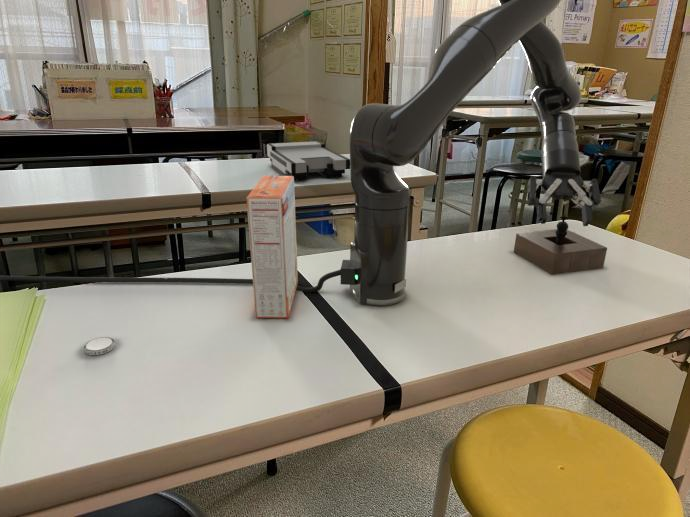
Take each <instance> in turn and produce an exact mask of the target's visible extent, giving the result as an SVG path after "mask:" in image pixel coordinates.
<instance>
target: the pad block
mask: <svg viewBox="0 0 690 517" xmlns="http://www.w3.org/2000/svg"><path fill="white" fill-rule="evenodd" d="M556 230H557V228H556V229H544V230H537V231H528V232H527V231H526V232H518V233H517V232H516V233H515V239H514V247H513V254H515V255H516V256H518V257H521V258H522V259H524V260H526V261H527V262H529V263H531V264H532V265H534V266H536V267H537V268H539V269H541V270H543V271H544V272H546V273H548V274H549V275H551V276H552V275H560V274H562V275H563V274H568V273H576V272H583V271H590V270H597V269H603V268H604V265H605V261H606V257H607V251H608V247H607V246H605V245H602V244H600V243H598V242H596V241H593V240H592V239H589V238H586V237H584V236H582V235H580V234H578V233H575V232H573V231H571V230H569V229H567V230H566V232H567V235H566V236H565V238H564V240H563V245H557V244H555V243H556V240H557V237H556V233H555V231H556Z"/></svg>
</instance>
